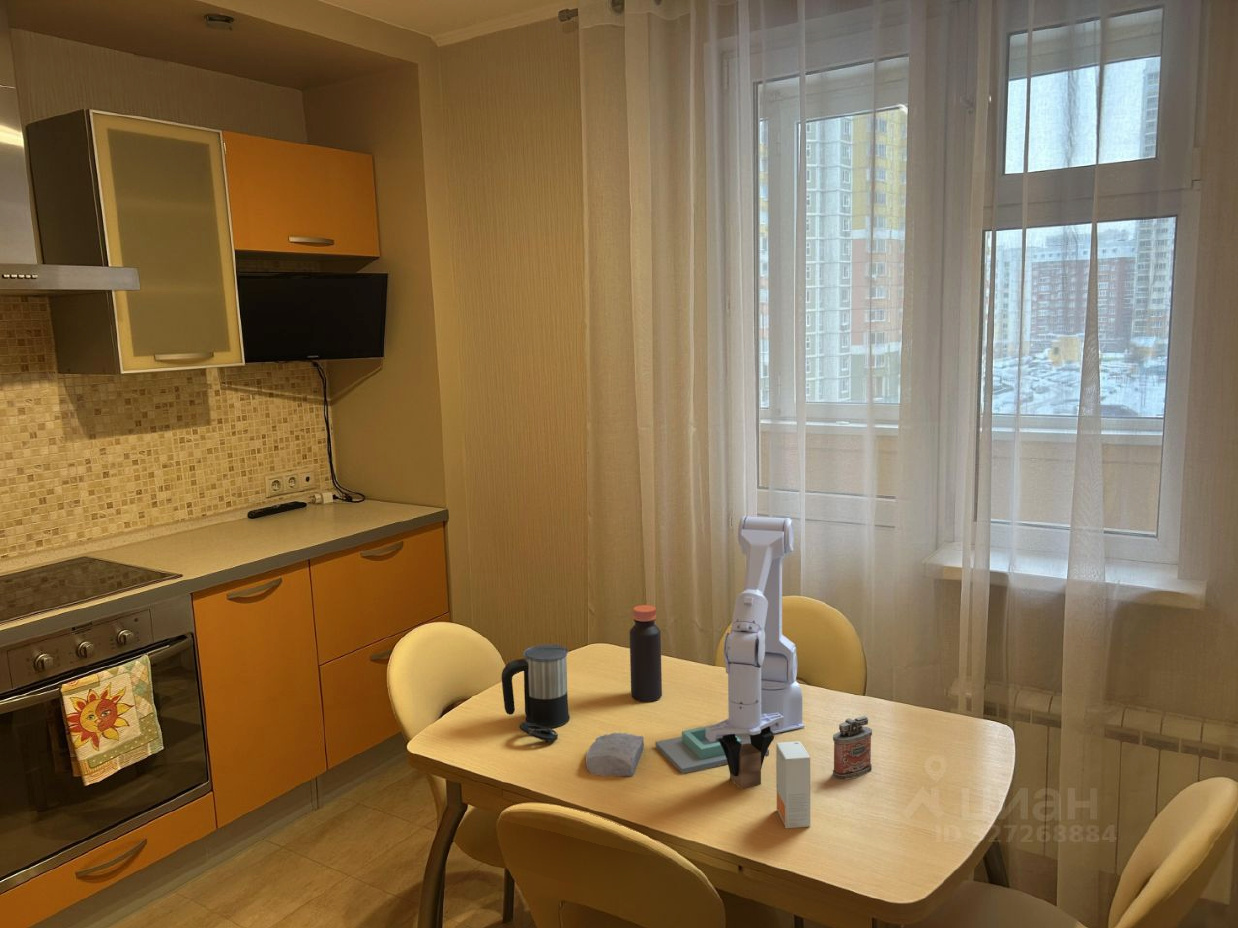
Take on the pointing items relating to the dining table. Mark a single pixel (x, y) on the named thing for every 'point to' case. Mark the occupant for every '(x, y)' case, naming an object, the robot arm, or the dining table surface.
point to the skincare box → (793, 784)
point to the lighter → (852, 749)
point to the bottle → (645, 655)
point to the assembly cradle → (696, 750)
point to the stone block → (615, 754)
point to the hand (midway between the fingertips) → (745, 771)
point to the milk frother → (540, 690)
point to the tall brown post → (748, 767)
